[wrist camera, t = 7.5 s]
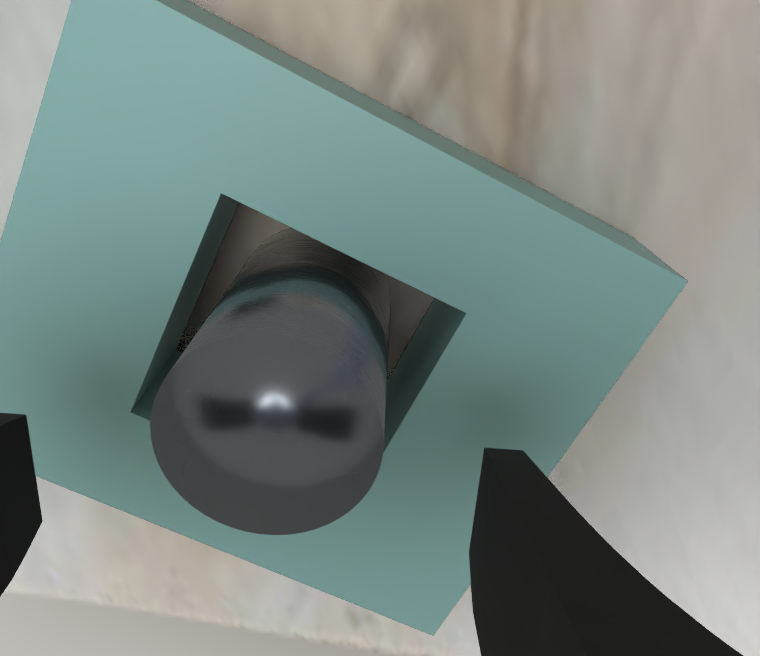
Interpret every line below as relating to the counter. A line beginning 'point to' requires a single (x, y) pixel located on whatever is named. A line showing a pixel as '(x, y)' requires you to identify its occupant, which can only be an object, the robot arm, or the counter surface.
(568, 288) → the hole block
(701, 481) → the counter surface
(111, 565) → the counter surface
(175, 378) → the pin
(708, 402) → the counter surface
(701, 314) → the counter surface
